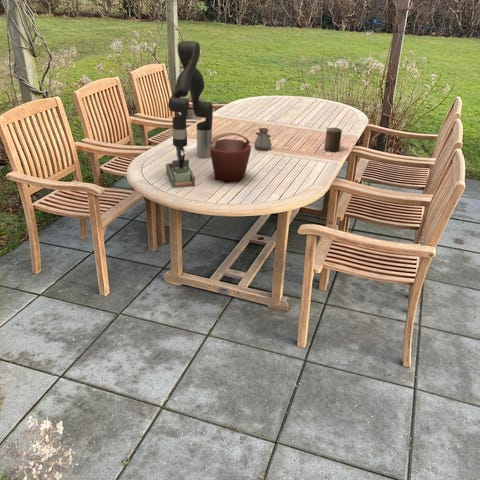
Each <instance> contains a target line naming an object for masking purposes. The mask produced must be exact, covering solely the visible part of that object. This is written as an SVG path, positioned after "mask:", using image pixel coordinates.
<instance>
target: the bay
mask: <svg viewBox="0 0 480 480" xmlns="http://www.w3.org/2000/svg"><path fill="white" fill-rule="evenodd" d="M178 167H179V166H178V165H175V168H178ZM183 167H187V165H186V164H183ZM172 168H173V162H172V163H171V162H169V163H165V169H166V171H165V172H166V175H167V177H168V180H169V182H170V185H171V188H172V189H175V188H187V187H195V186H196V183H195V182H196V179H195V178H196V177H195V176H194V173H193V171H192V169H191V168H190V166H189V172H190V182H183V183H175V179H174V176H173V174H172Z"/></svg>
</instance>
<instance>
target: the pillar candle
mask: <svg viewBox="0 0 480 480" xmlns="http://www.w3.org/2000/svg"><path fill="white" fill-rule="evenodd" d="M342 131H343V130H342V128H339V127H328V128H327V127H326V133H325V139H324V140H325V141H324V151H326V152H328V151H329V153H338V152H340V147H341V138H342ZM337 151H338V152H337Z"/></svg>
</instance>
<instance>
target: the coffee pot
mask: <svg viewBox="0 0 480 480" xmlns="http://www.w3.org/2000/svg"><path fill="white" fill-rule="evenodd" d="M257 130H258V131H259V132H257V131H256V132H254V133H253V135H255V134H256V138H255V141H254V147H255V148H256V149H257V150H258V151H268V150H269V149H270V148H272V146H273V144H272V141H271V139H270V136H269V134H268V132H269V131H270V130H269V129H268V128H267V127H260V128H258V129H257Z"/></svg>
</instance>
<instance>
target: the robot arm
mask: <svg viewBox="0 0 480 480" xmlns="http://www.w3.org/2000/svg"><path fill="white" fill-rule="evenodd" d="M177 55H178V57H179V61H180V63H181V65H182V69H183V70H182V71H181V72H180V74H179V75H178V77H177V80H176V82H175V87H174V91H173V93H172V95H171V96H170V98H169V100H168V102H167V103H168V104H167V106H168V109H169V111H171V112H174V113H181V115H176V116H174V117H172V145H173V146H174V147H175V151H176V158H177V159H176V160H179V165H178V166H179V168H180V169H183V162H184V160H186V159H185V155H186V154H185V152H186V151H185V148H184V147H187V146H188V131H187V117H188V114H189V109H190V102H189V100H188V99H187V98H184V97H187V96H188V95H190V99H191V104H192V110H193V113H194V116H195V117H197V118H203V119H205V120H203V121H200V122H197V123H196V157H198V158H200V159H207V158H211V153H210V148H209V146H210V142H212V141H213V136H212V135H213V115H214V108H213V107H214V106H213V103H212V102H210V101H202V100H200V96H201V94H202V93H203V91H204V90H205V81H204V75H203V74H202V73H201V71H200V70H199V69H198V68H197V65H198V63H199V60H200V55H201V46H200V43H199V42H197V41H194V40H193V41H192V40H191V41H190V40H184V41H183V40H182V41H179V42H178V44H177ZM189 93H190V94H189Z"/></svg>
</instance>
